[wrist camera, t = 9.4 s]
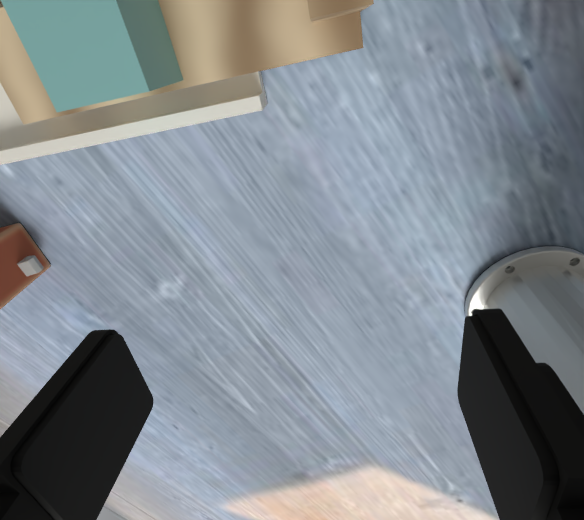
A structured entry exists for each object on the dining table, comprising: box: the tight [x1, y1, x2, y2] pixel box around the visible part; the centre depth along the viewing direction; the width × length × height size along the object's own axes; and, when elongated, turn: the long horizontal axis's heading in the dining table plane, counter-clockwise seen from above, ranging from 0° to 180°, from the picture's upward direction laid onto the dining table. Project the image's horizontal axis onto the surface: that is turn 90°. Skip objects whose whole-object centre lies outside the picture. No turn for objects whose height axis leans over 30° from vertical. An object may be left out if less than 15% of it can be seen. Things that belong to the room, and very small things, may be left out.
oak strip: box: [0, 0, 374, 124], centre depth 22 cm, size 26×7×9 cm, turn 102°
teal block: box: [1, 0, 183, 112], centre depth 22 cm, size 6×6×6 cm
